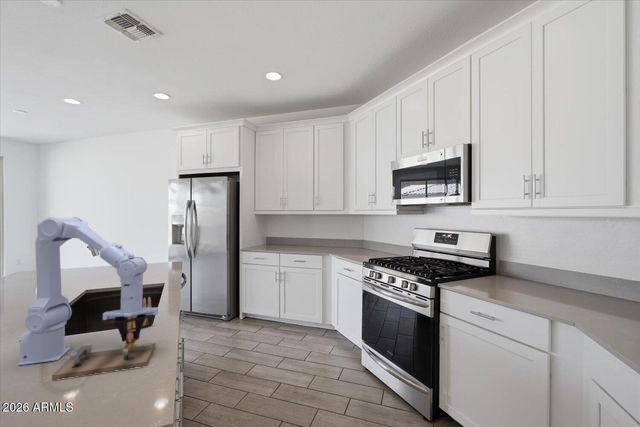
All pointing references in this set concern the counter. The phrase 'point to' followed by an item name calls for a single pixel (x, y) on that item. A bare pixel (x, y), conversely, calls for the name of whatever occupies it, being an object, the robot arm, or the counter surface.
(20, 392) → the counter surface
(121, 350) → the steel beam
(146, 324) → the ammunition clip
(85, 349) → the fixed leg
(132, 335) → the sliding leg
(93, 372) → the hole plate
